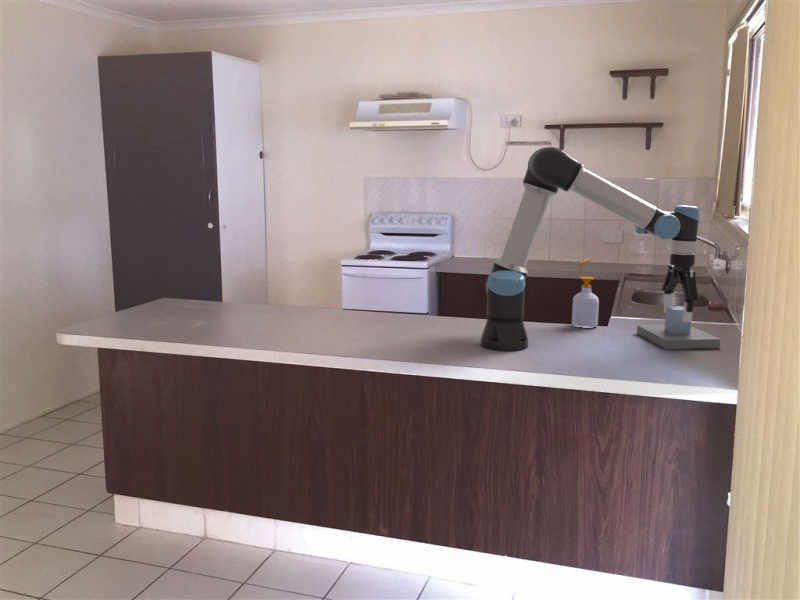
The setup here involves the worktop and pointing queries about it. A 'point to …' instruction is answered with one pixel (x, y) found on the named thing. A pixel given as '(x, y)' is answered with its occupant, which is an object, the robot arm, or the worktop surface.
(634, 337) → the worktop surface
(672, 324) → the plug
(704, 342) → the socket plate
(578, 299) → the soap bottle
